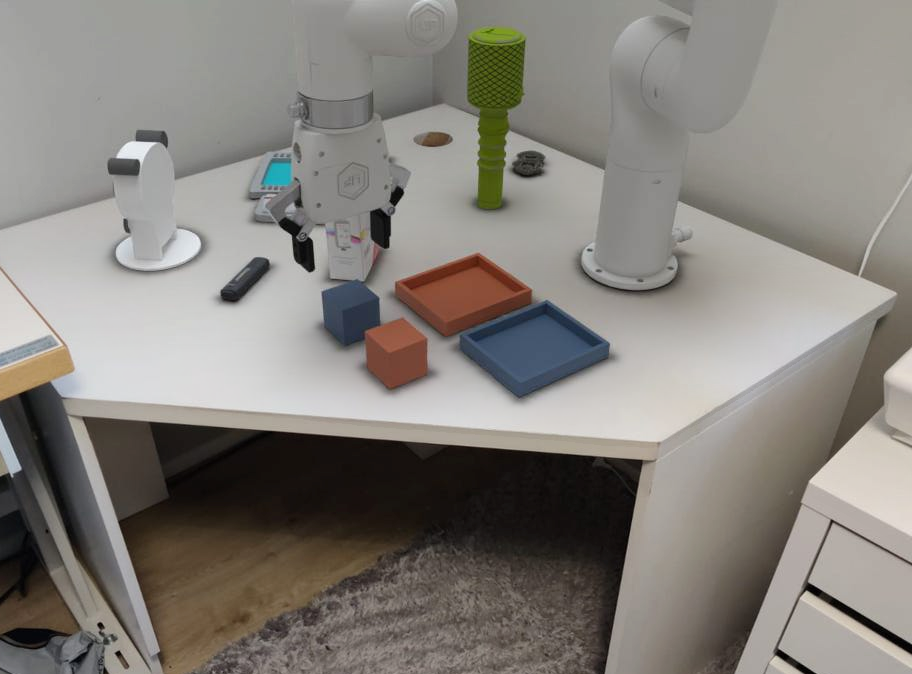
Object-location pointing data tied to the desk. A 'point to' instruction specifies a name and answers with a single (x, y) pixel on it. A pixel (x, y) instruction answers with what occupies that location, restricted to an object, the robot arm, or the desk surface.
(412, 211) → the desk surface
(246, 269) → the usb stick
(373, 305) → the slate block
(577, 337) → the slate tray
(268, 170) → the office telephone
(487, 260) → the terracotta tray
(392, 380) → the terracotta block
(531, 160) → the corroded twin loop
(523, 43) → the microphone
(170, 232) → the panda figurine
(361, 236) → the ink cartridge box
